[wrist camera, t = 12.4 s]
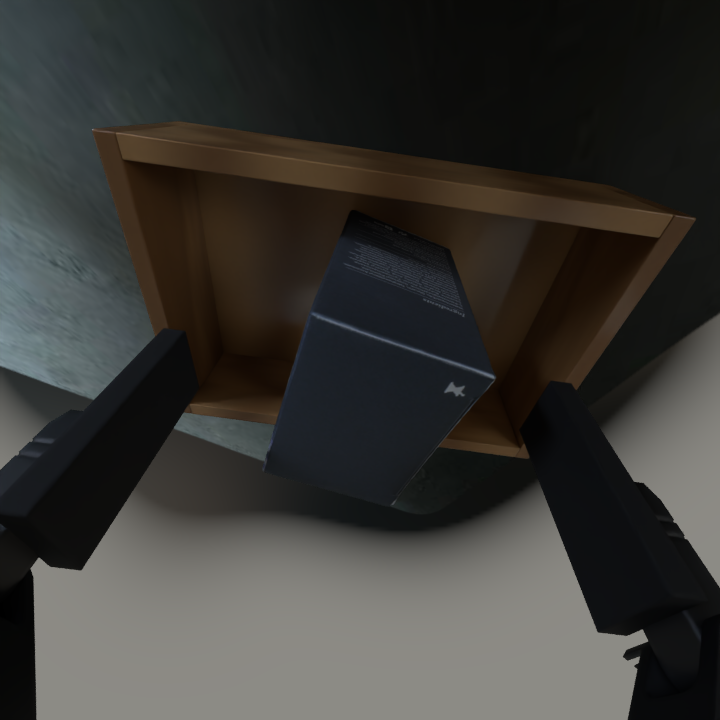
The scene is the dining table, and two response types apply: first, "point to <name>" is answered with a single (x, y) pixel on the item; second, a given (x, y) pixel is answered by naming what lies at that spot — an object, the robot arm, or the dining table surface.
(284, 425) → the box
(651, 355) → the dining table surface
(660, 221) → the holder
